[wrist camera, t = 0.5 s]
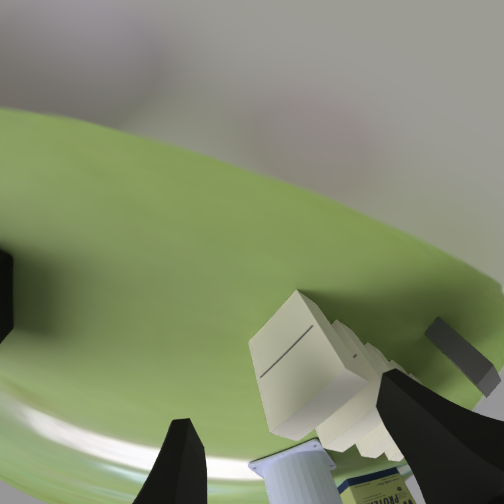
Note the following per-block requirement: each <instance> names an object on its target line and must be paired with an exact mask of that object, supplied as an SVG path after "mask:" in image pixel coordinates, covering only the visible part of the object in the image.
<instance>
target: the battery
mask: <svg viewBox="0 0 504 504" xmlns="http://www.w3.org/2000/svg"><path fill="white" fill-rule="evenodd" d="M12 329H13V315H12V257H11V256H10V255H9V254H7V253H5V252H3V251H1V250H0V343H1V342H2V341H3V340H4V339H5V337H6V336H7V335H8V334H9V333H10V332H11V330H12Z"/></svg>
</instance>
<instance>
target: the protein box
mask: <svg viewBox="0 0 504 504" xmlns="http://www.w3.org/2000/svg"><path fill="white" fill-rule="evenodd" d="M337 489H338V492H339V494H340V497H341V499H342V502H343V504H416V502H415V500H414V499H413V497H412V495H411V493H410V491H409V490H408V488H407V486H406V484H405V482H404V481H403V479H402V477H401V475H400V473H399V472H398V470H397V468H396V467H395V468H392V469H389V470H385V471H381V472H378V473H374V474H369V475H365V476H361V477H356V478H351V479H346V480H345V481H344V482H343V483H342V484H341V485H340V486H339V487H338V488H337Z"/></svg>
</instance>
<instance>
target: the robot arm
mask: <svg viewBox="0 0 504 504" xmlns="http://www.w3.org/2000/svg"><path fill="white" fill-rule="evenodd" d="M376 408H377V411H378V413H379V415H380V418H381V420H382V422H383V424H384V426H385V428H386V429H387V431H388V433H389V434H390V436H391V437H392V439H393V441H394V442H395V444H396V445H397V447H398V448H399V450H400V452H401V453H402V455H403V456H404V458H405V460H406V461H407V463H408V464H409V466H410V468H411V470H412V472H413V474H414V476H415V478H416V480H417V482H418V485H419V487H420V489H421V492H422V494H423V497H424V499H425V502H426V504H504V421H500V420H496V419H493V418H489V417H486V416H483V415H480V414H478V413H475V412H472V411H470V410H468V409H465V408H463V407H461V406H459V405H457V404H455V403H453V402H451V401H449V400H447V399H445V398H443V397H442V396H440V395H438V394H436V393H435V392H433V391H431V390H430V389H428V388H426V387H425V386H423V385H422V384H420V383H418V382H417V381H415V380H414V379H412V378H411V377H409V376H408V375H406V374H404V373H403V372H401V371H400V370H398V369H397V368H394V369H392V370H389V371H387V372H384V373H382V378H381V383H380V388H379V393H378V398H377V402H376ZM248 467H249V468H250V469H251V470H252V471H254V472H255V473H256V474H258V475H259V476H261V477H262V478H263V479H264V481H265V486H266V490H267V495H268V499H269V504H343V502H342V499H341V497H340V494H339V492H338V489H337V487H336V484H335V482H334V479H333V476H332V474H331V470H334V469H335V468H336V467H337V466H336V464H335V463H334V461H333V460H332V459H331V457H330V456H329V454H328V453H327V452H326V450H325V449H324V448H323V447H322V445H321V443H320V442H319V440H318V439H313V440H310V441H308V442H306V443H303V444H301V445H298V446H296V447H293V448H291V449H288V450H286V451H283V452H280V453H278V454H275V455H272V456H269V457H266V458H263V459H260V460H257V461H254V462H251V463H249V464H248ZM132 504H207V467H206V458H205V451H204V446H203V444H202V442H201V440H200V438H199V436H198V435H197V433H196V431H195V428H194V426H193V424H192V422H191V420H190V418H187V419H176V420H173V421H172V422H171V424H170V427H169V430H168V432H167V435H166V438H165V440H164V443H163V445H162V448H161V450H160V452H159V455H158V457H157V459H156V461H155V463H154V466H153V468H152V470H151V472H150V474H149V476H148V478H147V479H146V481H145V483H144V485H143V487H142V489H141V490H140V492H139V494H138V495H137V497H136V499H135V500H134V502H133V503H132Z"/></svg>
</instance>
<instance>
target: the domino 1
mask: <svg viewBox="0 0 504 504" xmlns="http://www.w3.org/2000/svg"><path fill="white" fill-rule="evenodd" d="M248 344H249V348H250V352H251V357H252V361H253V365H254V370H255V374H256V378H257V382H258V387H259V391H260V395H261V399H262V403H263V407H264V411H265V416H266V420H267V424H268V428H269V432H270V433H272V434H275V435H278V436H282V437H285V438H288V439H292V440H295V441H299V440H300V439H301V438H303V437H304V436H305V435H307V434H308V433H309V432H311V431H312V430H313V429H315V428H316V427H317V426H319V425H320V424H321V423H322V422H324V421H325V420H326V419H327V418H329V417H330V416H331V415H332V414H334V413H335V412H336V411H337V410H338V409H340V408H341V407H342V406H343V405H344V404H345V403H347V402H348V401H349V400H350V399H351V398H352V397H353V396H355V395H356V394H357V393H358V392H359V391H360V390H361V389H362V388H363V387H364V386H366V385H367V384H368V383H369V380H368V379H367V377H366V376H365V374H364V373H363V371H362V370H361V368H360V367H359V365H358V364H357V362H356V361H355V359H354V358H353V357H352V355H351V354H350V352H349V351H348V349H347V348H346V346H345V345H344V343H343V342H342V340H341V339H340V337H339V336H338V334H337V333H336V332H335V330H334V329H333V327H332V326H331V324H330V323H329V321H328V320H327V318H326V317H325V316H324V314H323V313H322V311H321V310H320V308H319V307H318V305H317V304H316V303H314V302H313V301H312V300H310V299H309V298H307V297H306V296H305V295H303V294H302V293H301V292H299V291H298V290H297V289H296V291H295V292H294V293H293V294H292V295H291V296H290V297H289V298H288V299H287V301H286V302H285V303H284V304H283V305H282V306H281V307H280V308H279V309H278V311H277V312H276V313H275V314H274V315H273V316H272V317H271V318H270V319H269V320H268V321H267V322H266V324H265V325H264V326H263V327H262V328H261V329H260V330H259V331H258V332H257V333H256V334H255V335H254V336H253V337H252V338H251V340H250V341H249V342H248Z"/></svg>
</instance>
